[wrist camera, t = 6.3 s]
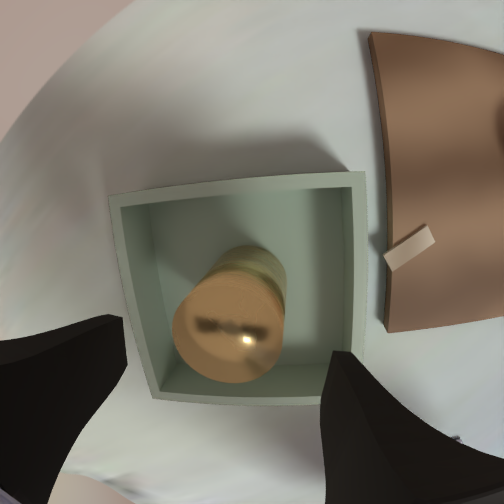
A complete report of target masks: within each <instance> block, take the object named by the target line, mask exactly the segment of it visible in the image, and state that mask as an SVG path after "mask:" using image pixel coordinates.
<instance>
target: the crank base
mask: <svg viewBox="0 0 504 504" xmlns="http://www.w3.org/2000/svg"><path fill="white" fill-rule="evenodd" d="M368 43H369V48H370V53H371V58H372V64H373V69H374V75H375V81H376V88H377V95H378V102H379V109H380V117H381V126H382V136H383V146H384V159H385V173H386V193H387V252H386V253H384V254H383V256H384V258H385V260H386V262H387V279H386V298H385V313H384V327H385V329H386V331H387V333H395V332H403V331H412V330H420V329H428V328H435V327H442V326H449V325H455V324H462V323H468V322H474V321H479V320H485V319H490V318H495V317H501V316H504V55H502V54H499V53H495V52H491V51H488V50H484V49H480V48H476V47H472V46H467V45H463V44H458V43H453V42H448V41H443V40H437V39H431V38H425V37H418V36H410V35H401V34H391V33H379V32H371V34H370V36H369V38H368Z"/></svg>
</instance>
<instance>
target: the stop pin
mask: <svg viewBox="0 0 504 504" xmlns="http://www.w3.org/2000/svg"><path fill="white" fill-rule="evenodd" d="M286 293H287V276H286V272H285V269H284V267H283V265H282V264H281V262H280V261H279V260H278V258H277V257H276V256H275V255H273V254H272V253H271V252H269V251H268V250H266V249H264V248H261V247H258V246H253V245H242V246H237V247H235V248H232V249H230V250H228V251H227V252H225V253H224V254H223V255H222V256H221V257H220V258H219V259H218V260H217V261H216V263H215V264H214V265H213V266H212V267H211V268H210V269H209V271H208V272H207V273H206V274H205V275H204V276H203V278H202V279H201V280H200V281H199V282H198V283H197V285H196V286H195V287H194V288H193V289H192V290H191V292H190V293H189V294H188V295H187V296H186V298H185V299H184V300H183V301H182V302H181V304H180V305H179V306H178V308H177V310H176V312H175V314H174V317H173V322H172V335H173V340H174V343H175V346H176V348H177V350H178V352H179V354H180V355H181V357H182V358H183V359H184V361H185V362H186V363H187V364H188V365H189V366H190V367H191V368H193V369H194V370H195V371H197V372H198V373H200V374H201V375H203V376H205V377H207V378H209V379H212V380H215V381H219V382H224V383H243V382H248V381H251V380H254V379H257V378H259V377H261V376H262V375H264V374H265V373H267V372H268V371H269V370H270V369H271V368H272V367H273V366H274V365H275V363H276V362H277V360H278V358H279V356H280V353H281V350H282V343H283V331H284V319H285V307H286Z"/></svg>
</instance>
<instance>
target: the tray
mask: <svg viewBox="0 0 504 504" xmlns="http://www.w3.org/2000/svg"><path fill="white" fill-rule="evenodd" d="M108 200H109V208H110V216H111V223H112V229H113V236H114V242H115V248H116V254H117V260H118V265H119V270H120V275H121V280H122V285H123V290H124V295H125V299H126V304H127V308H128V312H129V317H130V321H131V325H132V329H133V333H134V337H135V340H136V344H137V348H138V352H139V355H140V359H141V362H142V366H143V369H144V372H145V376H146V379H147V382H148V385H149V389H150V392H151V395H152V398H153V399H161V400H170V401H180V402H191V403H204V404H219V405H244V406H295V405H319V404H320V401H321V395H322V391H323V388H324V384H325V380H326V376H327V372H328V368H329V364H330V360H331V356H332V352H333V350H335V351H347V352H352V353H353V354H354V355H355V356H356V357H357V359H358V360H359V361H360V362H361V363H362V364H363V353H364V341H365V327H366V309H367V282H368V221H367V194H366V176H365V171H354V172H327V173H307V174H291V175H276V176H263V177H251V178H240V179H230V180H220V181H211V182H202V183H193V184H185V185H177V186H170V187H162V188H155V189H148V190H141V191H135V192H128V193H122V194H116V195H110V196H108ZM242 245H253V246H258V247H261V248H264V249H266V250H268V251H269V252H271V253H272V254H273V255H275V256H276V257H277V258H278V260H279V261H280V262H281V264H282V265H283V267H284V269H285V272H286V276H287V293H286V307H285V319H284V331H283V343H282V350H281V353H280V356H279V358H278V360H277V362H276V363H275V365H274V366H273V367H272V368H271V369H270V370H269V371H268V372H267V373H265V374H264V375H262V376H261V377H259V378H257V379H254V380H251V381H248V382H243V383H224V382H219V381H215V380H212V379H209V378H207V377H205V376H203V375H201V374H200V373H198V372H197V371H195V370H194V369H193V368H191V367H190V366H189V365H188V364H187V363H186V362H185V361H184V359H183V358H182V357H181V355H180V354H179V352H178V350H177V348H176V346H175V343H174V340H173V335H172V322H173V317H174V314H175V312H176V310H177V308H178V306H179V305H180V304H181V302H182V301H183V300H184V299H185V298H186V296H187V295H188V294H189V293H190V292H191V290H192V289H193V288H194V287H195V286H196V285H197V283H198V282H199V281H200V280H201V279H202V278H203V276H204V275H205V274H206V273H207V272H208V271H209V269H210V268H211V267H212V266H213V265H214V264H215V263H216V261H217V260H218V259H219V258H220V257H221V256H222V255H223V254H224V253H225V252H227V251H228V250H230V249H232V248H235V247H237V246H242Z"/></svg>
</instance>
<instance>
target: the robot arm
mask: <svg viewBox="0 0 504 504" xmlns="http://www.w3.org/2000/svg"><path fill="white" fill-rule="evenodd" d="M127 365H128V364H127V356H126V347H125V338H124V329H123V318H122V317H118V316H114V315H110V314H107V315H101V316H97V317H94V318H90V319H87V320H84V321H80V322H77V323H74V324H71V325H68V326H65V327H61V328H58V329H55V330H51V331H47V332H44V333H40V334H36V335H32V336H28V337H23V338H17V339H11V340H3V341H0V504H47V503H48V500H49V497H50V494H51V491H52V489H53V486H54V484H55V481H56V479H57V477H58V474H59V472H60V470H61V468H62V466H63V464H64V462H65V460H66V458H67V456H68V454H69V452H70V450H71V448H72V446H73V444H74V443H75V441H76V439H77V437H78V436H79V434H80V432H81V431H82V429H83V428H84V427H85V425H86V424H87V423H88V421H89V420H90V419H91V417H92V416H93V415H94V414H95V412H96V411H97V410H98V408H99V407H100V406H101V405H102V403H103V402H104V401H105V400H106V398H107V397H108V396H109V394H110V393H111V392H112V390H113V389H114V388H115V386H116V385H117V383H118V382H119V380H120V378H121V376H122V375H123V373H124V371H125V369H126V367H127ZM320 428H321V438H322V447H323V456H324V466H325V476H326V499H325V504H504V459H503V458H499V457H496V456H493V455H489V454H486V453H483V452H481V451H478V450H476V449H473V448H471V447H469V446H466V445H464V444H463V442H462V440H461V439H458V440H454V439H452V438H450V437H448V436H447V435H445V434H443V433H441V432H440V431H438V430H436V429H435V428H433V427H431V426H430V425H428V424H427V423H425V422H424V421H423V420H421V419H420V418H419V417H417V416H416V415H415V414H413V413H412V412H411V411H409V410H408V409H407V408H406V407H404V406H403V405H402V404H401V403H400V402H399V401H398V400H397V399H395V398H394V397H393V396H392V395H391V394H390V393H389V392H388V391H387V390H386V389H385V388H384V387H383V386H382V385H381V384H380V383H379V382H378V381H377V380H376V379H375V378H374V377H373V375H372V374H371V373H370V372H369V371H368V370H367V369H366V368H365V367H364V365H363V364H362V363H361V362H360V361H359V360H358V359H357V357H356V356H355V355H354V354H353V353H352V352H347V351H335V350H333V352H332V356H331V360H330V364H329V368H328V372H327V376H326V380H325V384H324V388H323V391H322V395H321V401H320Z"/></svg>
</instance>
